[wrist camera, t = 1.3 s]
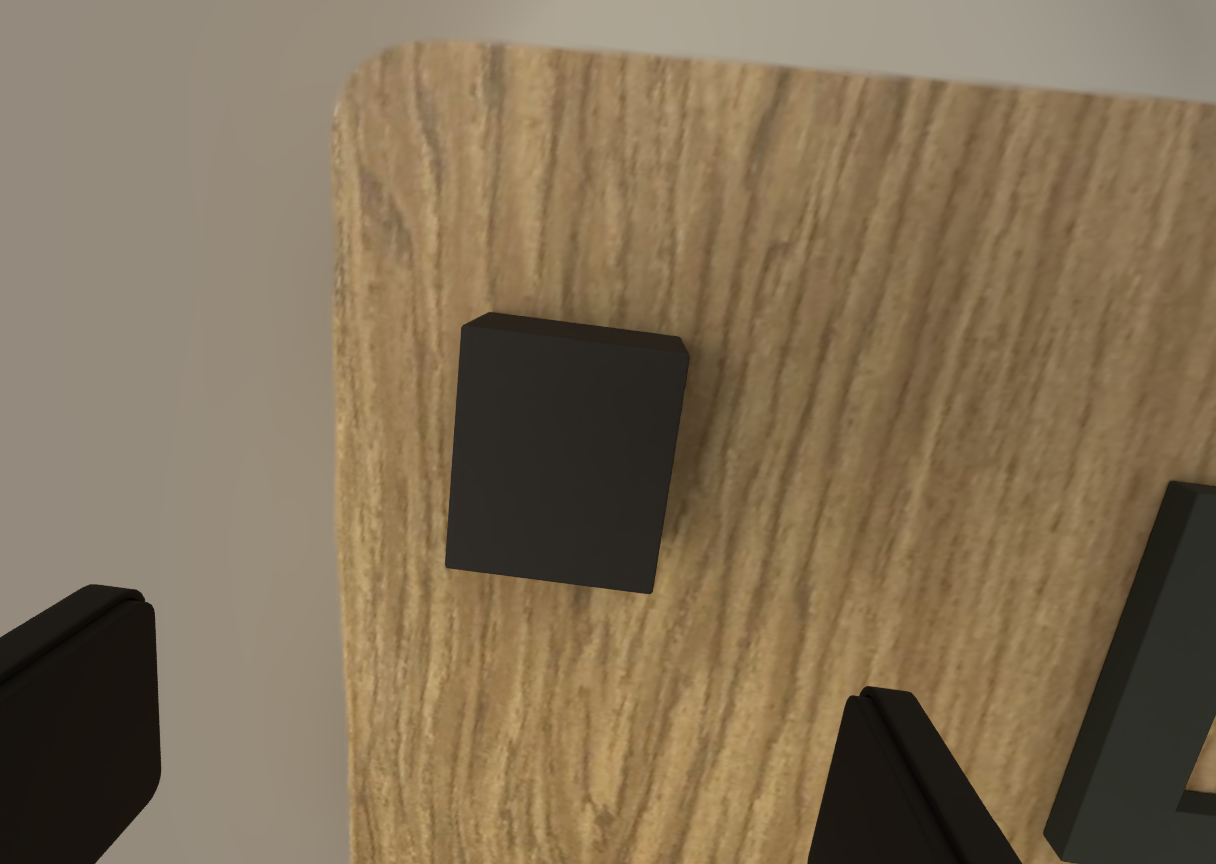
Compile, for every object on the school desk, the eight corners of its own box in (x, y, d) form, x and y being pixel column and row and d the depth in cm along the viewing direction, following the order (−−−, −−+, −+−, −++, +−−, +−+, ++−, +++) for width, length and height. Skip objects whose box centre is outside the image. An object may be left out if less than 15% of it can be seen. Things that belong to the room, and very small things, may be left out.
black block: (487, 311, 21) (460, 324, 18) (681, 336, 22) (690, 354, 18) (471, 521, 23) (444, 568, 20) (649, 544, 23) (652, 596, 20)
